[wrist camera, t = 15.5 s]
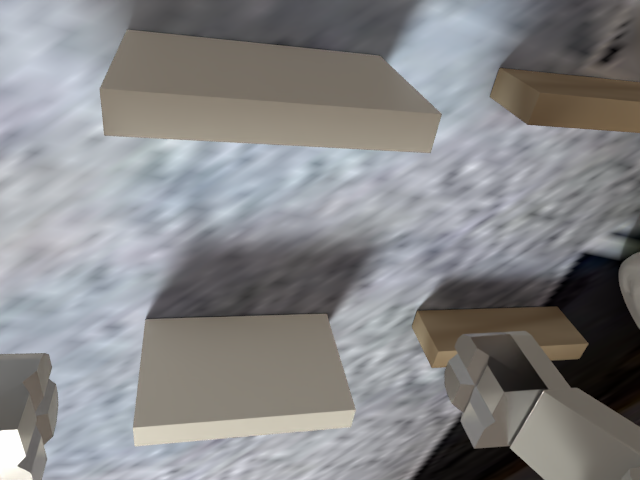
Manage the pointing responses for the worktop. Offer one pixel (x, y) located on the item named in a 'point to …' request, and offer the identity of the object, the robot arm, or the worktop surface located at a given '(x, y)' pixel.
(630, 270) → the supplement bottle
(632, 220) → the worktop surface
